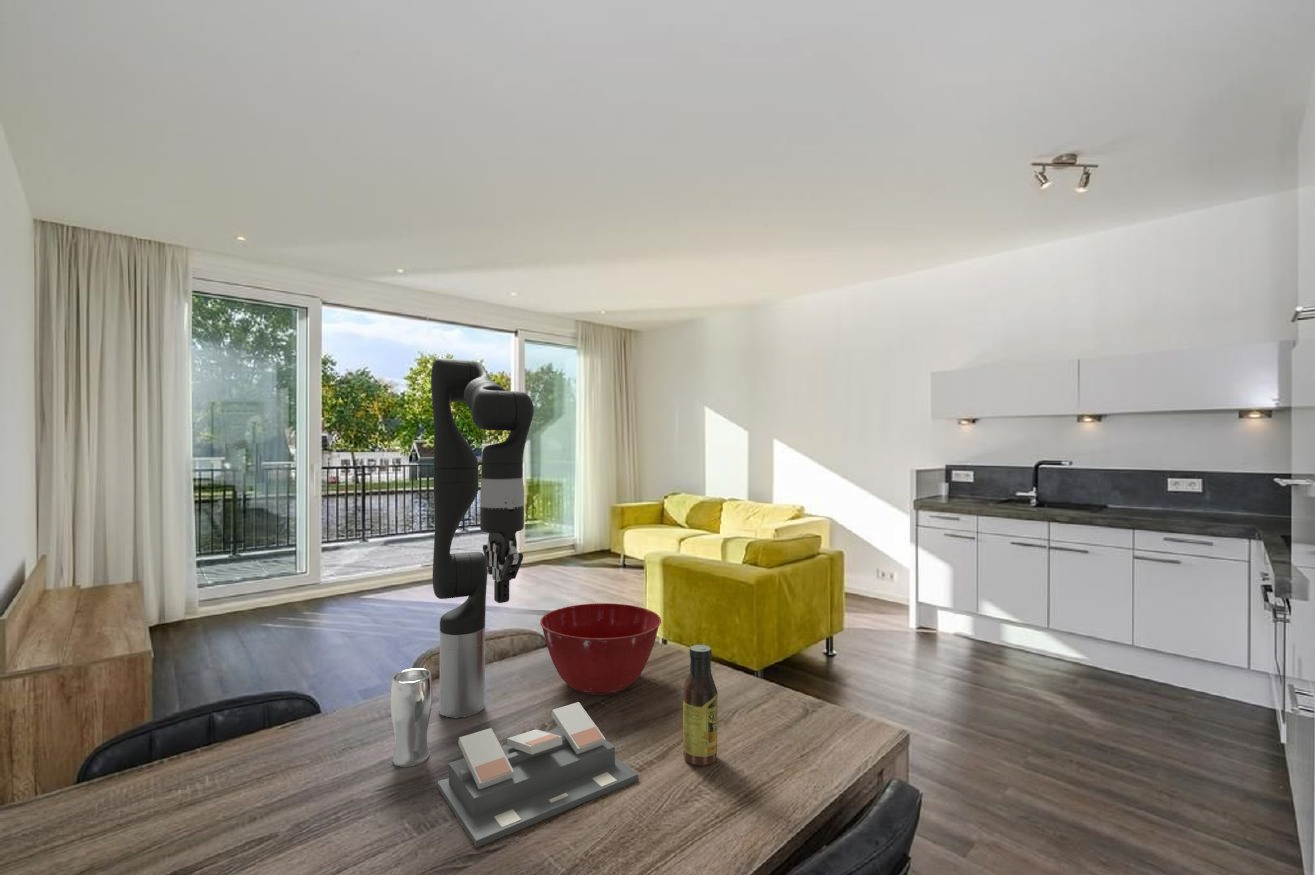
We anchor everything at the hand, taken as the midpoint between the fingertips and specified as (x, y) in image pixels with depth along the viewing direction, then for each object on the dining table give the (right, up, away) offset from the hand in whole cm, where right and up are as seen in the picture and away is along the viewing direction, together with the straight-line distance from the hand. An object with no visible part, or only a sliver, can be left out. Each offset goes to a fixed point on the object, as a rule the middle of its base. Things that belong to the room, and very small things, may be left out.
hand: (501, 601), depth 105 cm
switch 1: (0, -23, -9) cm, 24 cm away
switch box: (+8, -29, -5) cm, 31 cm away
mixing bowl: (+14, -29, +36) cm, 48 cm away
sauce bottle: (+35, -29, +3) cm, 46 cm away
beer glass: (-17, -29, +2) cm, 34 cm away
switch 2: (+7, -23, -4) cm, 24 cm away
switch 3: (+13, -23, +1) cm, 26 cm away
